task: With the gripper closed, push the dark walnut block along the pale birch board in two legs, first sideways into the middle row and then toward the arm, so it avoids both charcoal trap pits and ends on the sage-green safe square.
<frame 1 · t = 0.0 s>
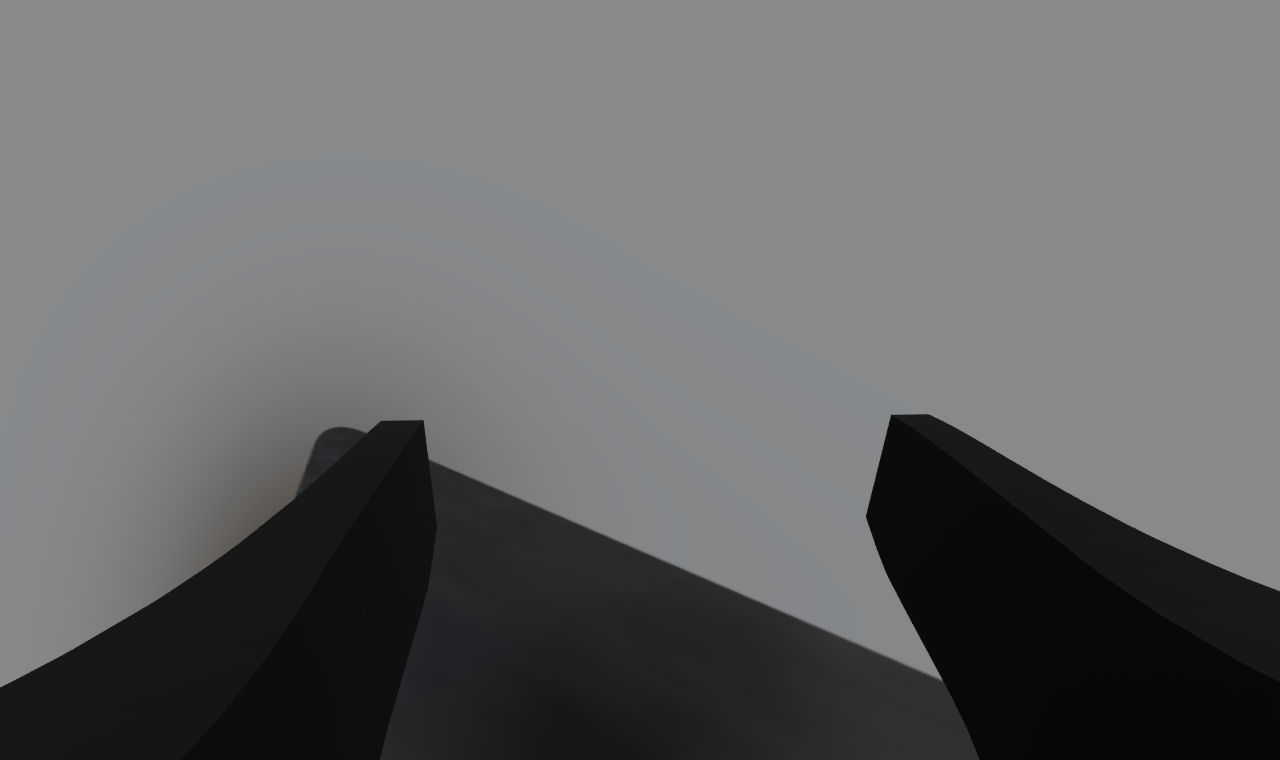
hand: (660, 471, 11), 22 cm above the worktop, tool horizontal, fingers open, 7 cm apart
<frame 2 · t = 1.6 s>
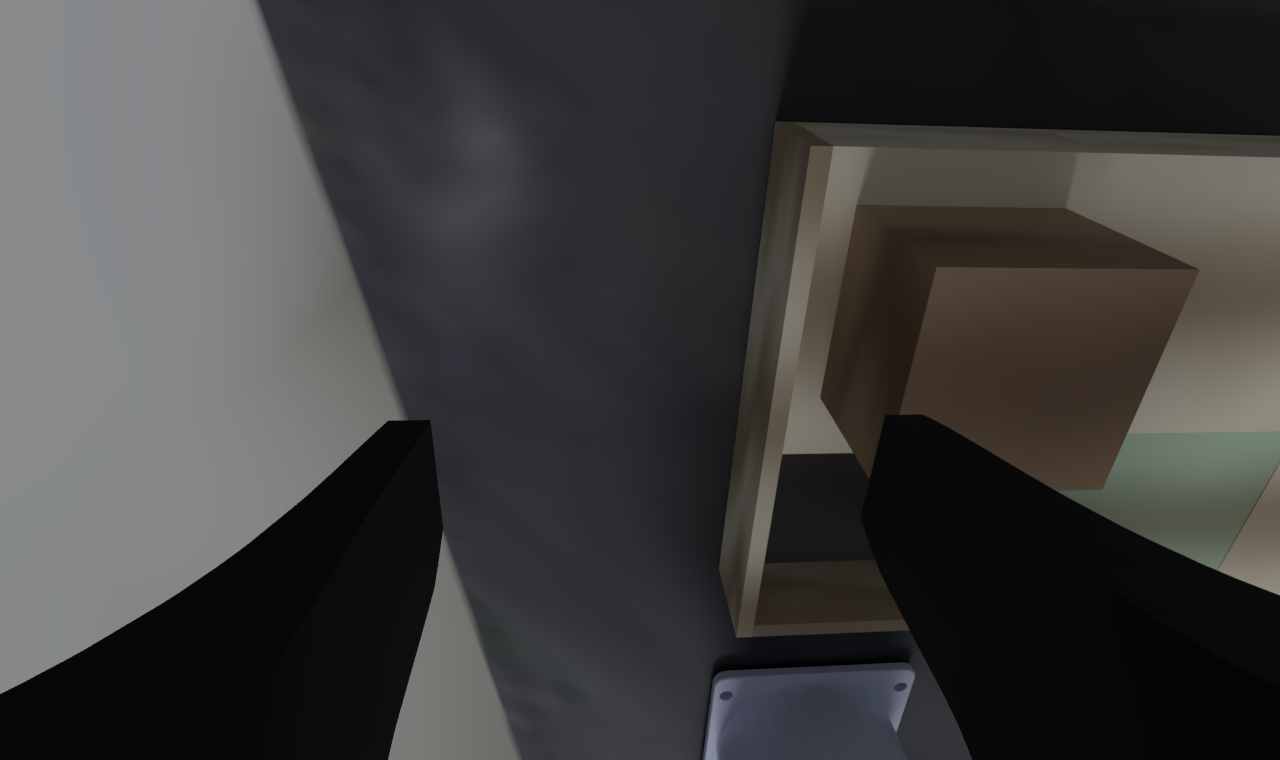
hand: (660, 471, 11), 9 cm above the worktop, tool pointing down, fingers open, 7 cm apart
walnut block: (936, 308, 17), point 3 cm above the worktop, touching trap board
trap board: (1092, 380, 23), on the worktop
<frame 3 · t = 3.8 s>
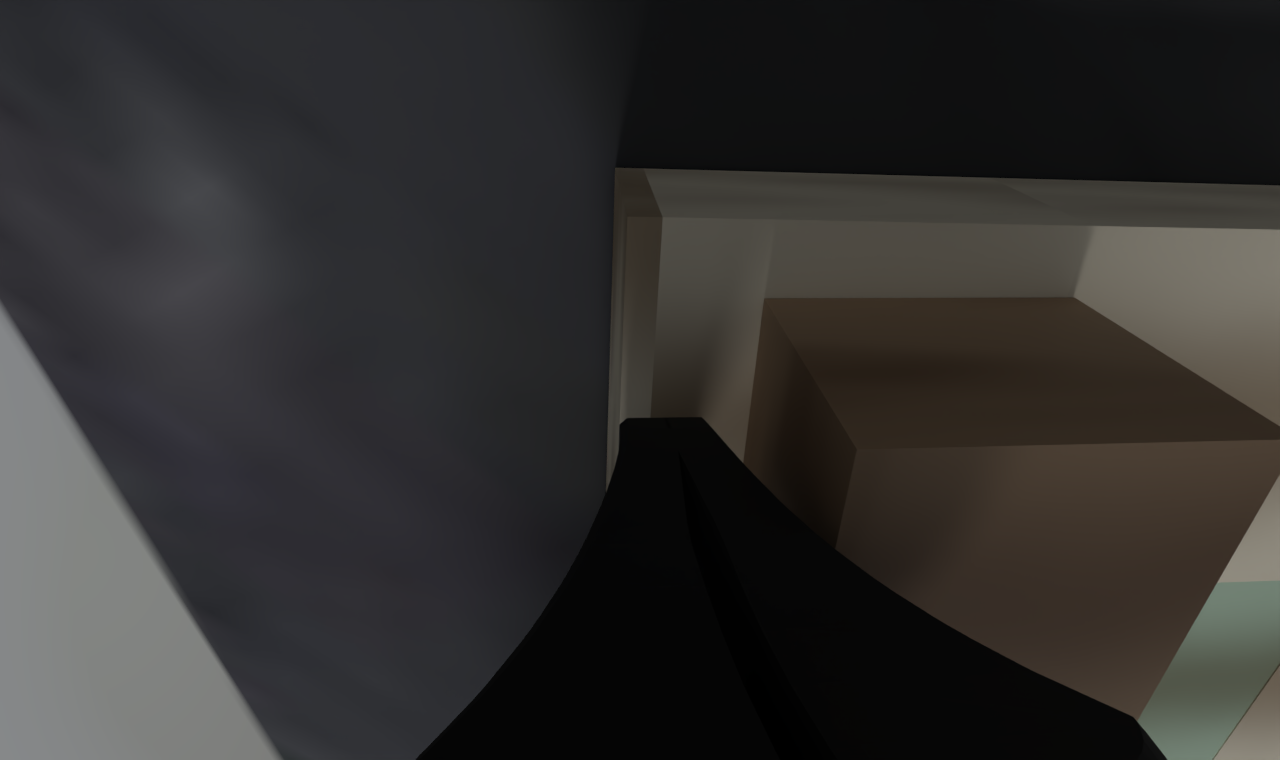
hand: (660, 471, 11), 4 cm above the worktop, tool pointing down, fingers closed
walnut block: (889, 433, 12), point 3 cm above the worktop, touching gripper
trap board: (1068, 493, 17), on the worktop
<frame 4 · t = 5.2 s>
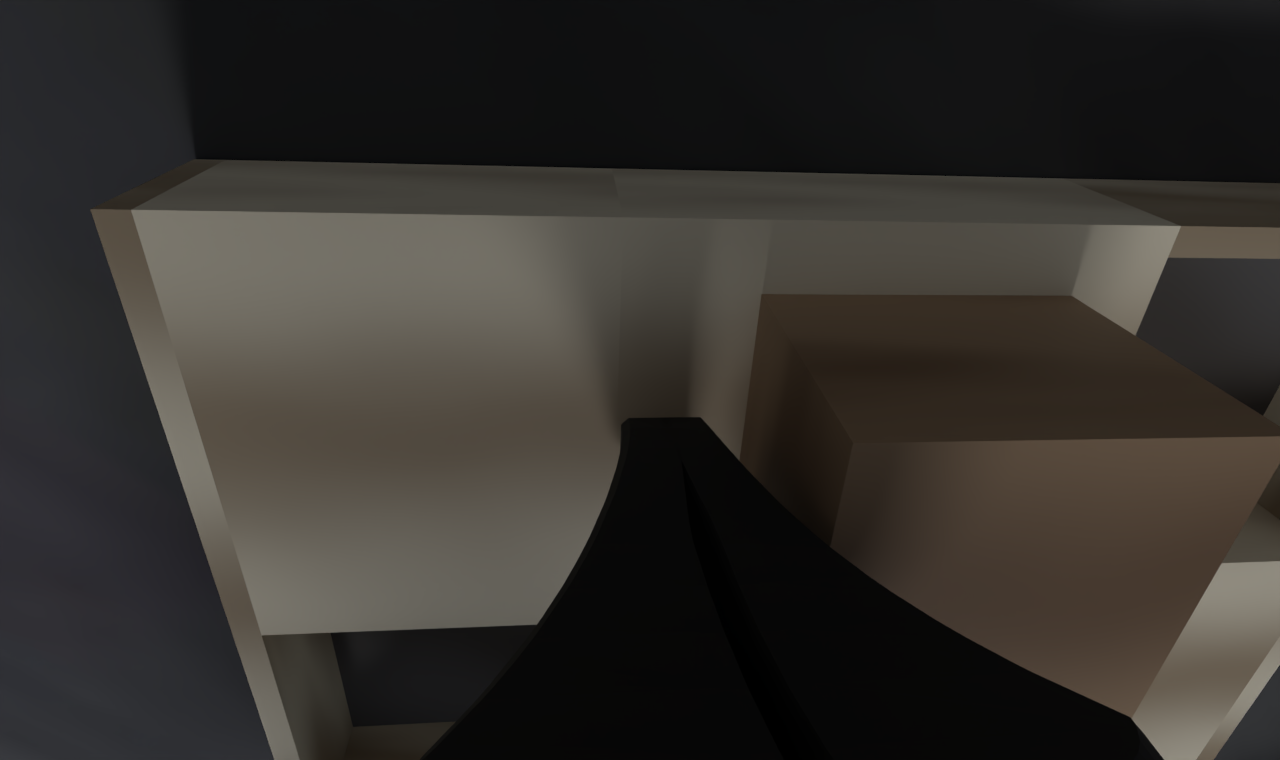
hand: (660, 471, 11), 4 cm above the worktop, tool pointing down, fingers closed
walnut block: (886, 430, 12), point 3 cm above the worktop, touching gripper, trap board
trap board: (786, 499, 17), on the worktop
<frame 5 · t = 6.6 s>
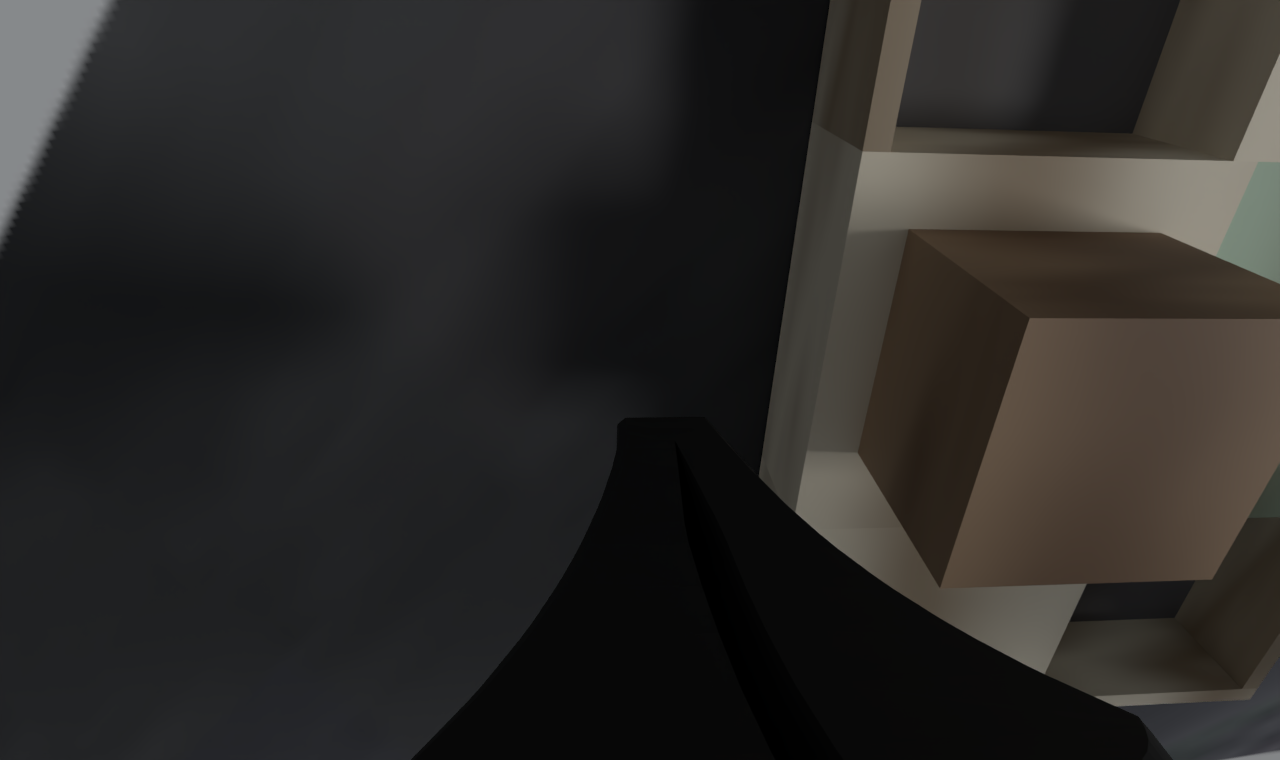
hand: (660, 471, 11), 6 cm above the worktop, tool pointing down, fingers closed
walnut block: (999, 350, 15), point 3 cm above the worktop, touching trap board
trap board: (1078, 309, 18), on the worktop
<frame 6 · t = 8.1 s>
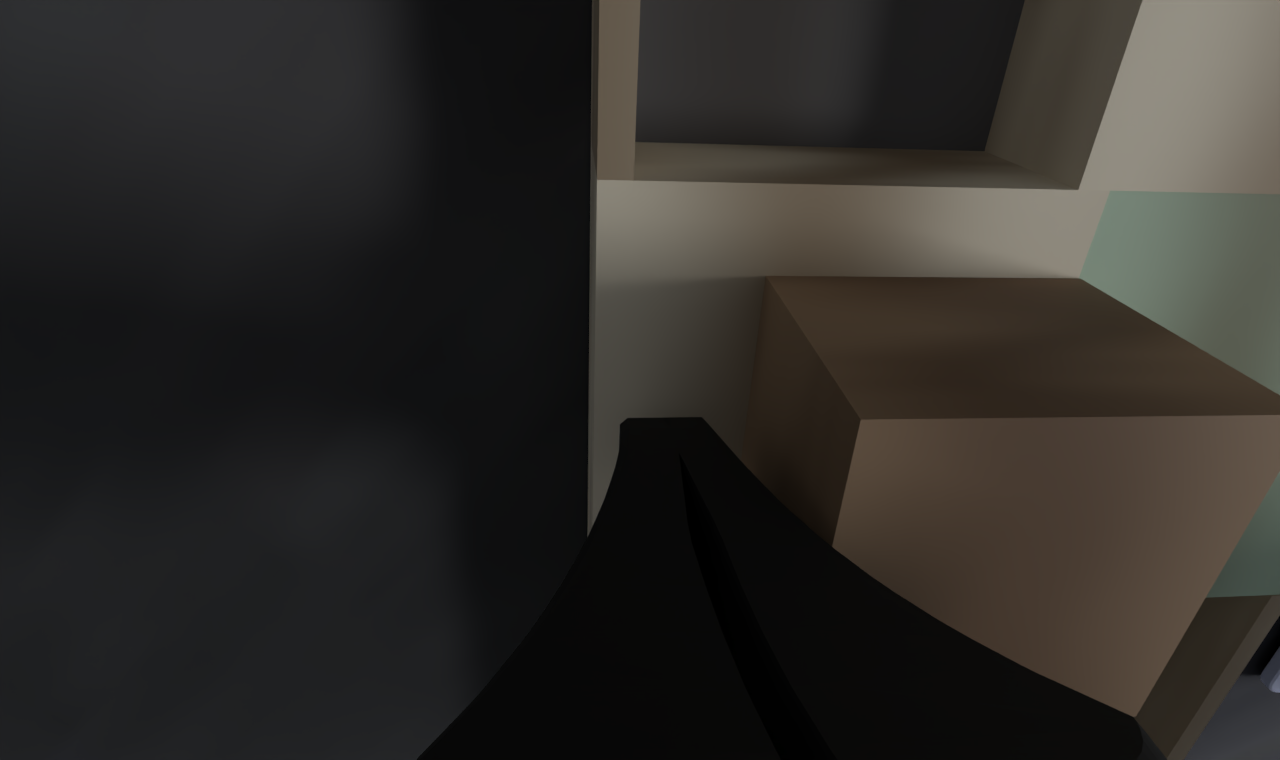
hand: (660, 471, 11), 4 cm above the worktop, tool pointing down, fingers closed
walnut block: (891, 416, 12), point 3 cm above the worktop, touching gripper, trap board
trap board: (944, 355, 15), on the worktop
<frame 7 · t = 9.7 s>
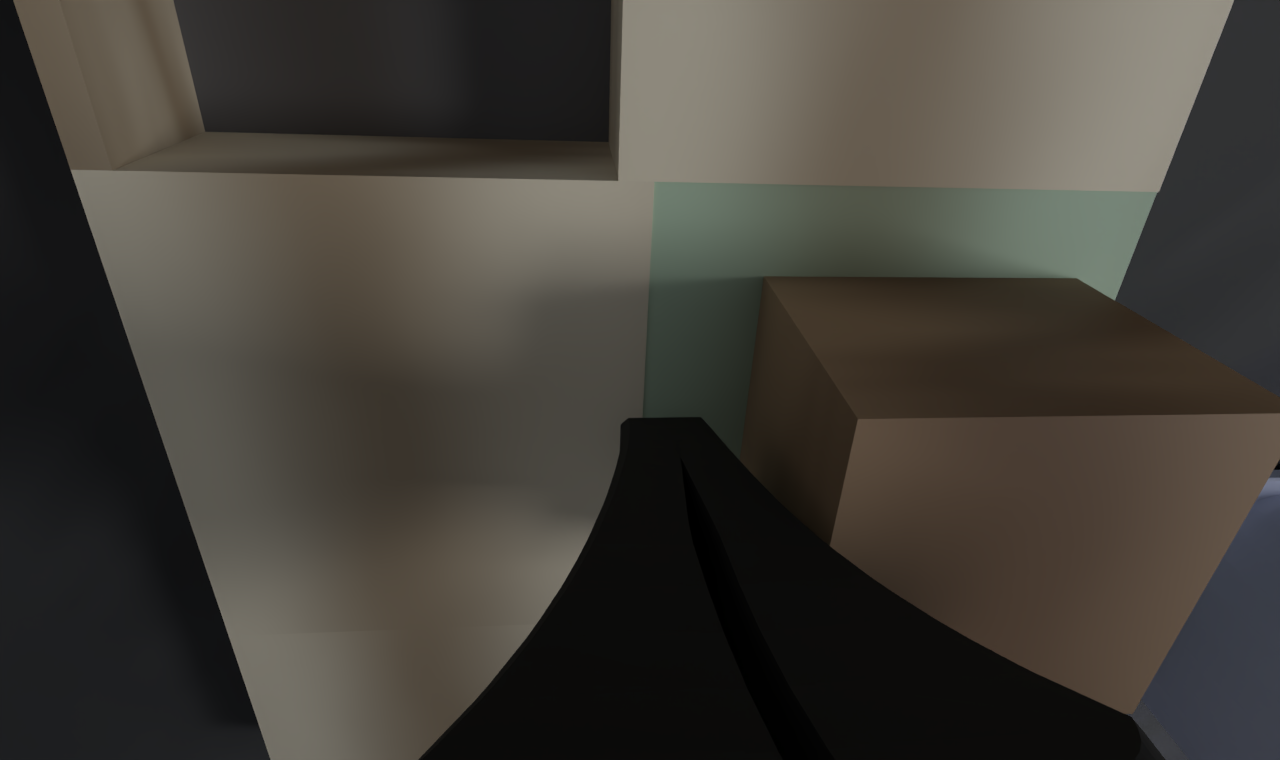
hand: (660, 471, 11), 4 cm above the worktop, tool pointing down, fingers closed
walnut block: (889, 416, 12), point 3 cm above the worktop, touching gripper, trap board
trap board: (628, 356, 15), on the worktop
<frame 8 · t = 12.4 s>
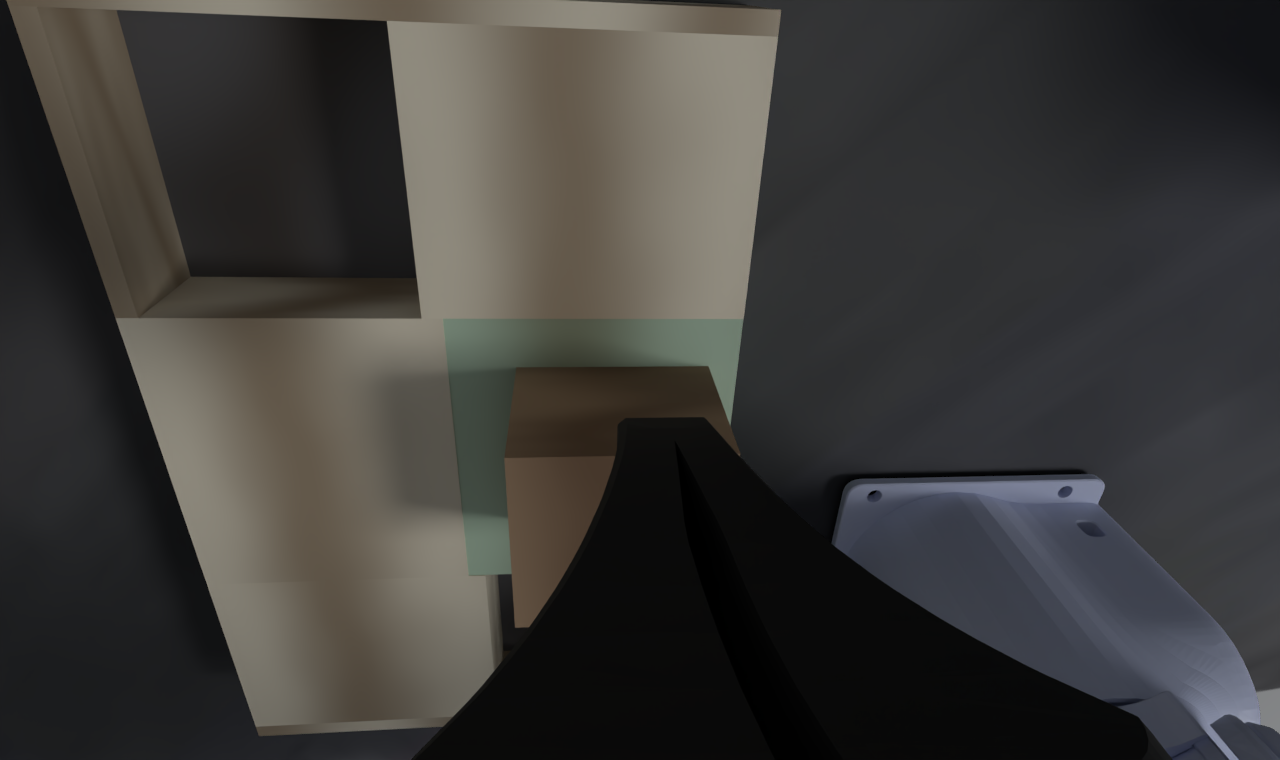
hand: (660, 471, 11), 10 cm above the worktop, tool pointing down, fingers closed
walnut block: (611, 446, 20), point 3 cm above the worktop, touching trap board
trap board: (470, 404, 22), on the worktop
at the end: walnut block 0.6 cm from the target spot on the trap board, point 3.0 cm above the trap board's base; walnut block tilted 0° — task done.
